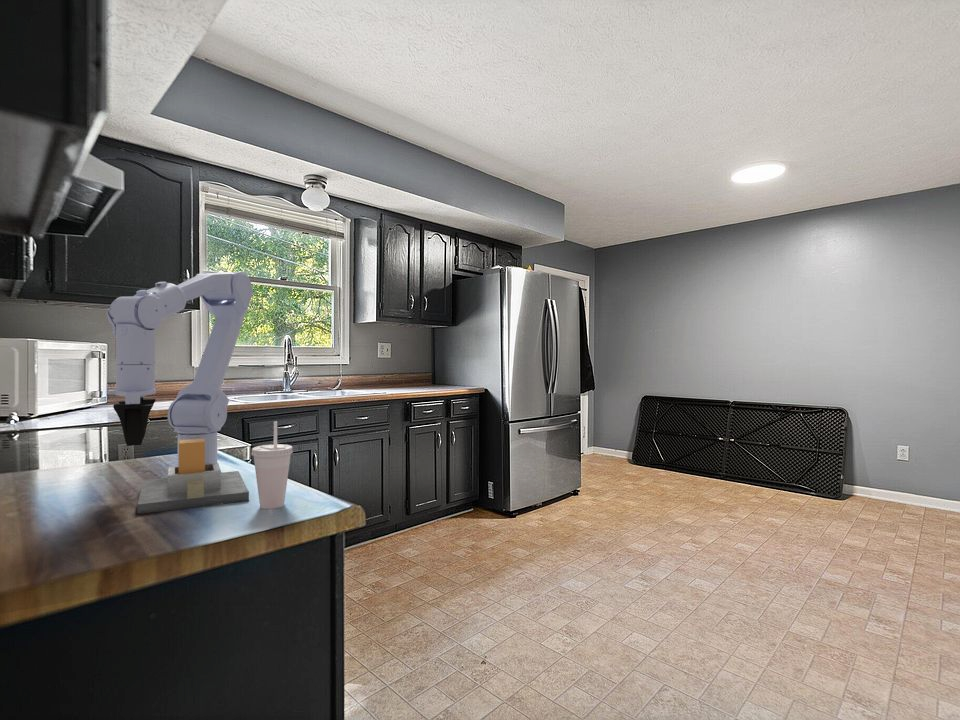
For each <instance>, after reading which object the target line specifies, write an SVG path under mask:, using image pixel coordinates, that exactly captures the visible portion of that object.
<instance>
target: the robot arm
mask: <svg viewBox="0 0 960 720" xmlns="http://www.w3.org/2000/svg"><path fill="white" fill-rule="evenodd" d="M154 286H155V287H151V288H149V289H139V290H137V291H136V292H135V293H136V294H134V295H133V296H119V297H116V299H114V300H113V301H112V302H111V304H110V305H109V307H108V310H106V316H107V317H106V318H107V320H108V322H109V324H110V325H111V328H112V335H113V336H114V338H115V364H116V365H115V389H108V390H107V395H115V396H118V397H119V396H120V397H124V398H125V399H124V400H119V401H118V403H114V404H113V405H112V407H113V410H114V412H115V413H116V414H117V417H118V418H119V421H120V424H121V427H122V432H123V438H124V443H125V444H126V447H130V446H131V447H132V446H142V444H143V441H144V438H145V436H146V432H147V427H148V422H149V416H150V413H151V411H152V409H153V407H154V404H155V402H156V398H154V397H153V398H151V397H150V398H149V397H148V398H145V397H146V396H150V395H155V394H157V389H156V388H155V387H156V386H155V385H156V379H155V378H156V364H155V363H156V362H155V361H156V358H155V357H156V345H155V344H156V343H155V342H156V332H155V331H156V329H158V328H160V326H161V324H162V323H163V320H164V319H167V318H168V317H170V316H172V315H174V314H177V313H179V312H181V311H183V310H184V309H185V308H186V305H187V302H188V301H193V300H195V299H197V298H201V300H202V302H203V303H204V305H205V307H206V309H207V311H208V313H209V314H211V316H212V315H213V316H214V317H215V320H214V323H213V326H212V329H211V332H210V334H209V337H208V340H207V342H206V344H205V348H204V350H203V354H202V355H201V359H200V361H199V364H198V367H197V369H196V373H195V375H194V378H193V381H192V382H191V383H190V384H188V385H187V386H185V387H183V388H181V389H180V390H178V393H177V395H176V398H175V399H174V400H173V401H172V402H171V403H170V405H169V407H168V410H167V420H168V421H167V422H168V423H169V425H170V426H171V428H173V431H174V433H177V466H179V440H189V439H205V464H207V463H218V432H220V431H221V429H222V427H223V426H224V425H225V423H226V421H227V417H228V405H229V402H230V399H229V398H228V395H227V394H226V393H225V392H224V391H223V390H222V389H221V388H222V386H223V382H224V379H225V376H226V374H227V371H228V368H229V364H230V362H231V360H232V359H231V358H232V356H233V354H234V351H235V348H236V344H237V341H238V338H239V335H240V331H241V329H242V327H243V324H244V323H243V322H244V321H245V315H246V314H247V312H248V309H249V306H250V302H251V300H252V297H253V294H254V290H253V286H252V282H251V279H250V277H249V276H248V274H247V272H244V271H241V270H240V271H236V272H235V271H234V272H228V271H227V272H209V271H206V272H205V271H204V272H202V273H197V274H195V276H193V277H191V278H189V279H187V280H185V281H183V282H181V283H179V284H177V285H176V284H174V283H171V282H167V281H157V282H156V283H154ZM155 328H156V329H155Z"/></svg>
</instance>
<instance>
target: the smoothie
mask: <svg viewBox="0 0 960 720" xmlns="http://www.w3.org/2000/svg"><path fill="white" fill-rule="evenodd" d="M293 452H294V451H293V446H292V445H290V444H279V443H278V421H277V420H275V421H273V444H262V445H257V446H255V447H252V448H251V456H252V457H253V461H254V469H255V477H256V485H257V494H258V499H259V500H258V501H259V508H260V509H262V510H274V509H279V508H282V507H284V505H285V501H286V492H287V485H288V478H289V477H288V476H289V470H290V463H291V455H292V454H293Z"/></svg>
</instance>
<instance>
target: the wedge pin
mask: <svg viewBox="0 0 960 720" xmlns="http://www.w3.org/2000/svg"><path fill="white" fill-rule="evenodd" d="M203 471H205V439H189V440H179V474H181V473H192V472H203Z"/></svg>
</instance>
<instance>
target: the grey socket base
mask: <svg viewBox="0 0 960 720" xmlns="http://www.w3.org/2000/svg"><path fill="white" fill-rule="evenodd" d="M167 472H168V473H167V477H161V478H159V477H158V478H150V479H143V482H142V487H141V490H140V493H139V498H138V501H137V508H136V509H137V513H136V514H137V515H140V514H141V515H142V514H150V513H151V514H152V513H157V512H165V511H173V510H182V509H190V508H191V509H192V508H199V507H207V506H215V505H216V506H218V505H223V504H233V503H239V502H240V503H241V502H248V501H250V490H249V489H248V487H247V485H246V483H245V481H244V479H243V477H242V475H241V473H240V471H239V470H236V471H235V470H234V471H224V472H223V471H222V470H221V467H220V465H219V462H217V463H207V464H205V471H203V472H192V473H181V474H179V466H178V465H175V466H168V470H167Z"/></svg>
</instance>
